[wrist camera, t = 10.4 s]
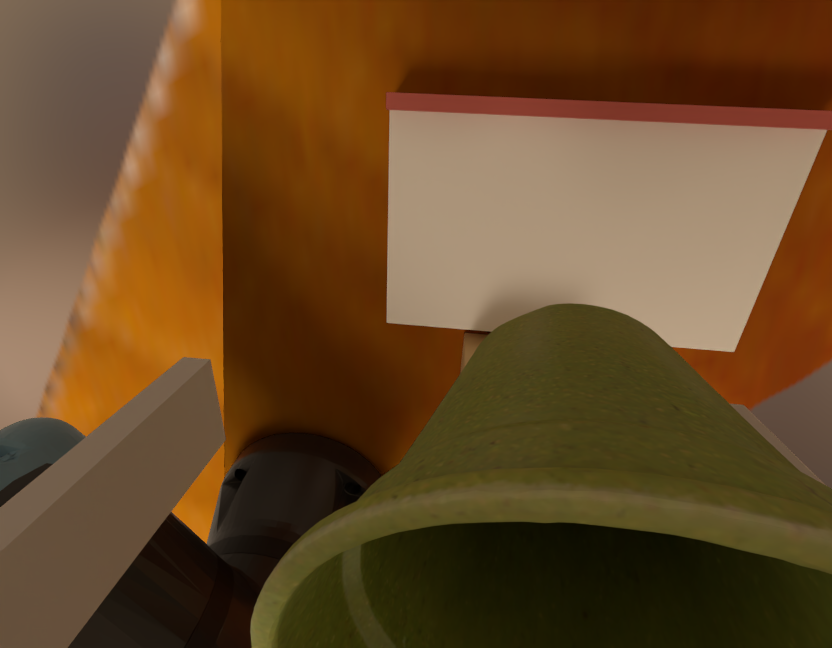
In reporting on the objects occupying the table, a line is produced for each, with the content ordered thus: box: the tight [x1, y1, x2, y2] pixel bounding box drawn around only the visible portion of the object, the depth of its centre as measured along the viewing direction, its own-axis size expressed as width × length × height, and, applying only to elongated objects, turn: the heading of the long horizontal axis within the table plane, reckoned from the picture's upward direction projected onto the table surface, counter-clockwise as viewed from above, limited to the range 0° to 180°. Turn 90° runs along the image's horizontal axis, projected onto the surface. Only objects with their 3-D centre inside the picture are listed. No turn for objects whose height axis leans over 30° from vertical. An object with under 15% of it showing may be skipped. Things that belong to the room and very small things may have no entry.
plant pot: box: [250, 303, 832, 648], centre depth 9 cm, size 9×9×9 cm
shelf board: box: [386, 92, 832, 352], centre depth 25 cm, size 23×14×3 cm, turn 88°
